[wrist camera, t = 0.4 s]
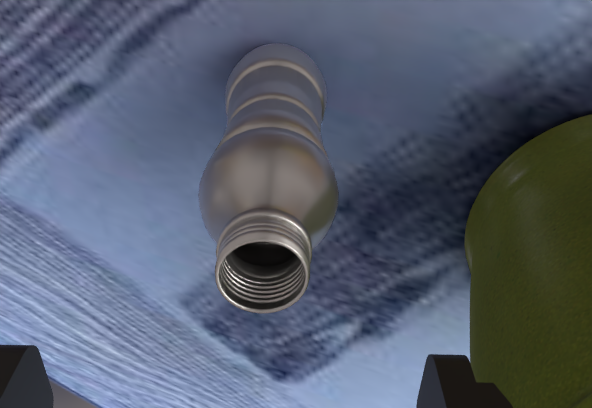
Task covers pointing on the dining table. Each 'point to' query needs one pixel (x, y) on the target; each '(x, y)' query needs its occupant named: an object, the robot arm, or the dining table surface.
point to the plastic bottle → (269, 180)
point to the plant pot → (535, 272)
